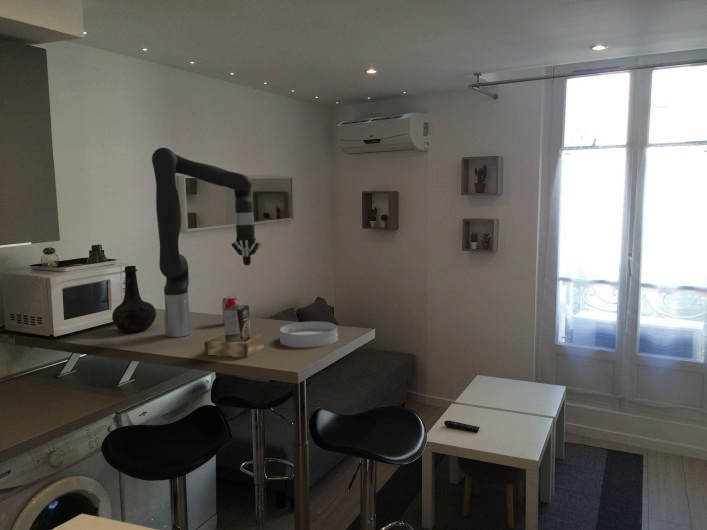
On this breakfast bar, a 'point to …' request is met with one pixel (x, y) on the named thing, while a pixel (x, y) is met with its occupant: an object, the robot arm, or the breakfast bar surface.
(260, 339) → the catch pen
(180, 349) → the breakfast bar surface
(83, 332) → the breakfast bar surface
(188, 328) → the robot arm
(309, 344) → the dish
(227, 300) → the soda can
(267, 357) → the breakfast bar surface
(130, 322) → the glass bottle
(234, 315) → the coffee box
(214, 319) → the breakfast bar surface
